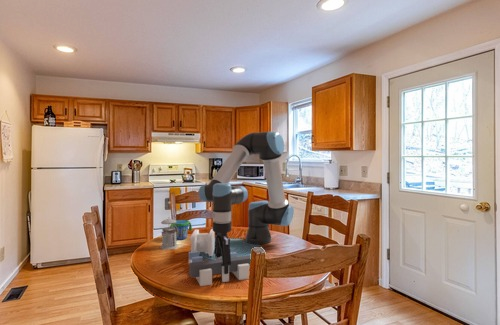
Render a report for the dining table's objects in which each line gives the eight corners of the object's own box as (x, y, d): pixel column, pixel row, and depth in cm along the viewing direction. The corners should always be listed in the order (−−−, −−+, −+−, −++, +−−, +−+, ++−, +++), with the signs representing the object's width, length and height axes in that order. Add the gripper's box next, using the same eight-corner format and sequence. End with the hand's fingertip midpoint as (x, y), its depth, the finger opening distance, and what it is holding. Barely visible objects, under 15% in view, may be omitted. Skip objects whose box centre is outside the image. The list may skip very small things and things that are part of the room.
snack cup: (186, 234, 191) (186, 218, 190) (196, 237, 183) (196, 221, 183) (164, 239, 180) (164, 222, 180) (173, 242, 172) (173, 225, 172)
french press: (171, 243, 171) (170, 199, 171) (184, 247, 164) (183, 201, 163) (156, 247, 163) (155, 201, 163) (168, 251, 156) (168, 203, 156)
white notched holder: (230, 258, 145) (230, 247, 145) (249, 278, 120) (249, 264, 120) (188, 263, 137) (188, 251, 137) (200, 286, 113) (200, 271, 113)
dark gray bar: (250, 265, 128) (250, 255, 128) (253, 268, 124) (253, 258, 124) (189, 274, 119) (189, 262, 118) (191, 277, 115) (191, 266, 115)
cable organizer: (211, 259, 144) (211, 235, 143) (189, 259, 143) (189, 235, 143) (214, 249, 159) (214, 228, 158) (194, 250, 158) (194, 228, 158)
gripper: (206, 217, 130) (207, 269, 130) (220, 228, 110) (220, 289, 110) (223, 216, 133) (223, 266, 133) (239, 226, 113) (239, 285, 113)
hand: (222, 276), depth 121 cm, fingers open, 9 cm apart
